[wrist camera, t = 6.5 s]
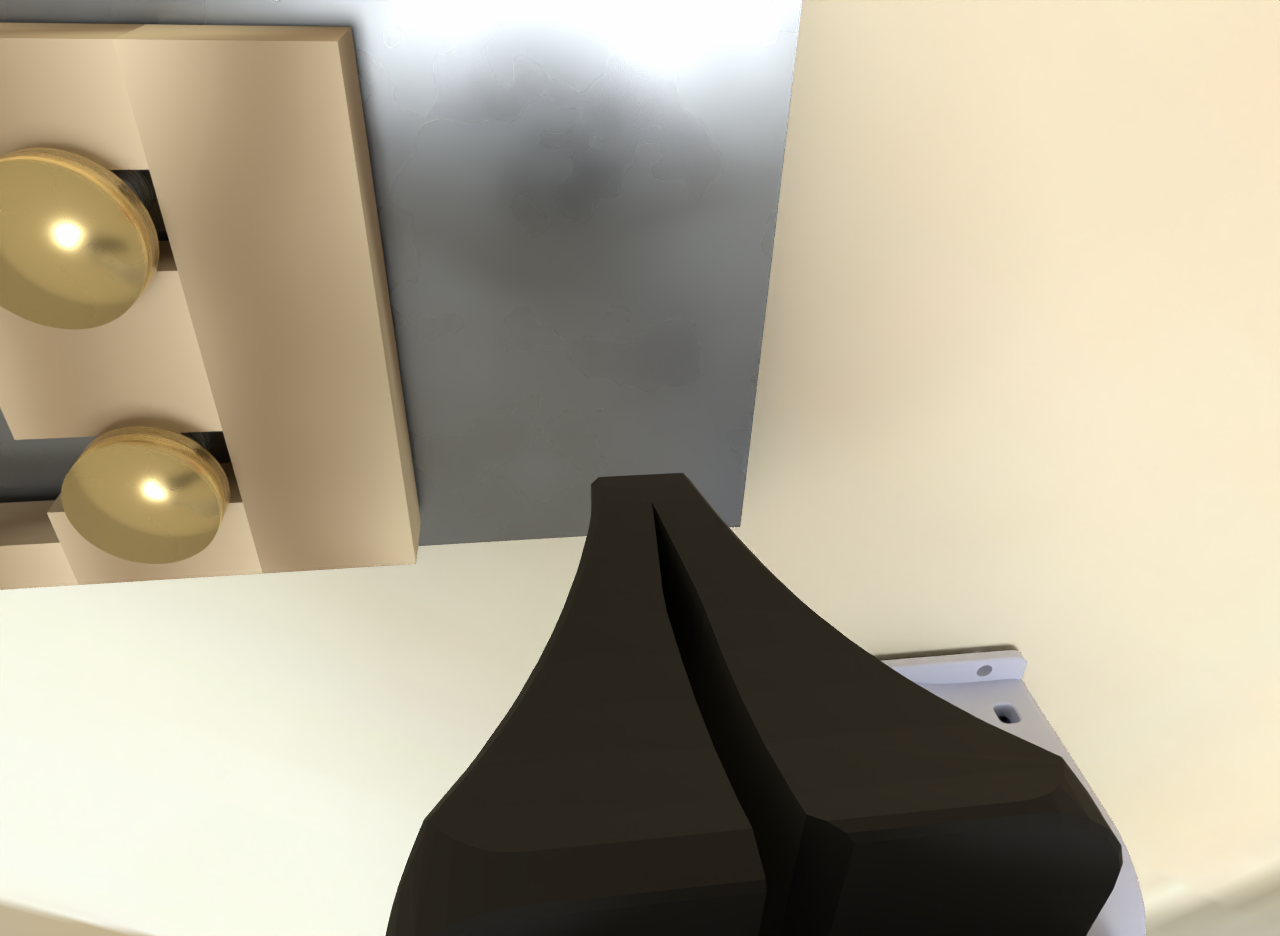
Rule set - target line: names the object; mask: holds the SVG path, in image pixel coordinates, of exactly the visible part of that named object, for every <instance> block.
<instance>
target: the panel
mask: <svg viewBox="0 0 1280 936" xmlns="http://www.w3.org/2000/svg"><path fill="white" fill-rule="evenodd" d="M32 147H46V148H55V149H61V150H66V151H69V152H72V153H76V154H79V155H81V156H84V157H86V158H88V159H91V160H92V161H94V162H96V163H98V164H100V165H102V166H103V167H105V168H106V169H108V170H149V171H150V174H151V178H152V181H153V185H154V189H155V192H156V196H157V199H158V203H159V206H160V210H161V213H162V217H163V221H164V224H165V228H166V231H167V235H168V238H169V241H159V262H158V266H157V270H156V273H155V275H154V277H153V280H152V281H151V283H150V284H149V286H148V287H147V288H146V289H145V291H144V292H143V293H142V294H141V295H140V297H139V298H138V299H137V300H136V301H135V303H134V304H133V305H132V306H131V307H130V308H129V309H128V310H127V311H126V312H125V313H124V314H123V315H121V316H120V317H119V318H117V319H115V320H113V321H112V322H110V323H107V324H104V325H102V326H99V327H94V328H89V329H78V330H73V329H59V328H52V327H48V326H44V325H40V324H37V323H34V322H31V321H28V320H26V319H24V318H22V317H19V316H17V315H15V314H13V313H12V312H10V311H8V310H6V309H5V308H3V307H2V306H0V408H1V410H2V412H3V415H4V417H5V419H6V421H7V424H8V426H9V428H10V430H11V433H12V435H13V437H14V440H23V439H46V438H70V437H93V436H99V435H101V434H103V433H105V432H108V431H110V430H113V429H116V428H121V427H127V426H151V427H158V428H163V429H167V430H170V431H173V432H176V433H186V432H210V431H223V434H224V438H225V441H226V445H227V448H228V452H229V455H230V459H231V462H229V463H219V464H220V465H221V467H222V469H223V470H224V472H225V474H226V477H227V479H228V482H229V487H230V499H229V504H228V507H227V510H226V512H225V515H224V517H223V519H222V522H221V524H220V526H219V529H218V531H217V533H216V535H215V537H214V539H213V540H212V542H211V543H210V544H209V545H208V546H207V547H206V548H205V549H204V550H202V551H201V552H199V553H198V554H196V555H194V556H192V557H190V558H188V559H185V560H182V561H178V562H173V563H166V564H146V563H138V562H132V561H129V560H125V559H121V558H119V557H116V556H113V555H111V554H109V553H106V552H104V551H102V550H101V549H99V548H97V547H95V546H94V545H93V544H91V543H90V542H88V541H87V540H86V539H85V538H84V537H82V536H81V535H80V534H79V533H78V532H77V530H76V529H75V528H74V527H73V526H72V524H71V523H70V521H69V520H68V518H67V516H66V514H65V512H64V509H63V506H62V500H61V493H60V495H59V496H58V498H57V499H56V500H50V501H30V502H11V503H0V590H4V589H20V588H36V587H52V586H68V585H84V584H100V583H116V582H132V581H148V580H164V579H180V578H196V577H212V576H228V575H244V574H260V573H276V572H292V571H308V570H324V569H340V568H356V567H372V566H388V565H404V564H416V559H417V550H418V542H419V534H420V525H421V518H420V511H419V504H418V497H417V490H416V483H415V476H414V469H413V462H412V455H411V448H410V440H409V433H408V426H407V419H406V412H405V405H404V398H403V391H402V384H401V377H400V369H399V362H398V355H397V348H396V341H395V334H394V327H393V320H392V313H391V306H390V299H389V291H388V284H387V277H386V270H385V263H384V256H383V249H382V242H381V235H380V228H379V221H378V213H377V206H376V199H375V192H374V185H373V178H372V171H371V164H370V157H369V150H368V142H367V135H366V128H365V121H364V114H363V107H362V100H361V93H360V86H359V79H358V72H357V64H356V57H355V50H354V43H353V36H352V29H351V27H325V26H244V25H163V24H82V23H1V22H0V157H1V156H2V155H4V154H6V153H9V152H12V151H14V150H19V149H24V148H32Z"/></svg>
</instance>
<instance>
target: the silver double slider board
mask: <svg viewBox="0 0 1280 936" xmlns="http://www.w3.org/2000/svg"><path fill="white" fill-rule="evenodd" d="M801 7H802V0H0V22H1V23H82V24H163V25H244V26H325V27H351V29H352V36H353V43H354V50H355V57H356V64H357V72H358V79H359V86H360V93H361V100H362V107H363V114H364V121H365V128H366V135H367V142H368V150H369V157H370V164H371V171H372V178H373V185H374V192H375V199H376V206H377V213H378V221H379V228H380V235H381V242H382V249H383V256H384V263H385V270H386V277H387V284H388V291H389V299H390V306H391V313H392V320H393V327H394V334H395V341H396V348H397V355H398V362H399V369H400V377H401V384H402V391H403V398H404V405H405V412H406V419H407V426H408V433H409V440H410V448H411V455H412V462H413V469H414V476H415V483H416V490H417V497H418V504H419V511H420V518H421V525H420V534H419V542H418V546H425V545H442V544H458V543H475V542H492V541H508V540H525V539H542V538H558V537H575V536H587V534H588V529H589V524H590V518H591V483H593V482H594V481H595V480H596V479H597V478H598V477H608V476H628V475H648V474H667V473H684V474H685V475H686V476H687V477H688V478H689V479H690V480H691V482H692V483H693V484H694V485H695V487H696V488H697V489H698V491H699V492H700V493H701V494H702V496H703V497H704V498H705V499H706V501H707V502H708V503H709V504H710V505H711V507H712V508H713V509H714V510H715V512H716V513H717V514H718V515H719V516H720V517H721V519H722V520H723V521H724V522H725V523H726V524H727V526H728V527H740V523H741V515H742V506H743V498H744V489H745V481H746V472H747V464H748V456H749V447H750V439H751V430H752V422H753V413H754V405H755V396H756V388H757V379H758V371H759V362H760V354H761V346H762V337H763V329H764V320H765V312H766V303H767V295H768V286H769V278H770V269H771V261H772V252H773V244H774V236H775V227H776V219H777V210H778V202H779V193H780V185H781V176H782V168H783V159H784V151H785V142H786V134H787V125H788V117H789V109H790V100H791V92H792V83H793V75H794V66H795V58H796V49H797V41H798V32H799V24H800V15H801ZM159 241H169V238H168V235H167V231H166V228H165V224H164V221H163V217H162V213H161V210H160V206H159V203H158V199H157V196H156V192H155V189H154V185H153V181H152V178H151V174H150V171H149V170H108V169H106V168H105V167H103V166H102V165H100V164H98V163H96V162H94V161H92V160H91V159H88V158H86V157H84V156H81V155H79V154H76V153H72V152H69V151H66V150H61V149H55V148H46V147H32V148H24V149H19V150H14V151H12V152H9V153H6V154H4V155H2V156H1V157H0V306H2V307H3V308H5V309H6V310H8V311H10V312H12V313H13V314H15V315H17V316H19V317H22V318H24V319H26V320H28V321H31V322H34V323H37V324H40V325H44V326H48V327H52V328H59V329H73V330H78V329H89V328H94V327H99V326H102V325H104V324H107V323H110V322H112V321H113V320H115V319H117V318H119V317H120V316H121V315H123V314H124V313H125V312H126V311H127V310H128V309H129V308H130V307H131V306H132V305H133V304H134V303H135V301H136V300H137V299H138V298H139V297H140V295H141V294H142V293H143V292H144V291H145V289H146V288H147V287H148V286H149V284H150V283H151V281H152V280H153V277H154V275H155V273H156V270H157V266H158V262H159ZM229 462H231V459H230V455H229V452H228V448H227V445H226V441H225V438H224V434H223V431H210V432H186V433H176V432H173V431H170V430H167V429H163V428H158V427H151V426H127V427H121V428H116V429H113V430H110V431H108V432H105V433H103V434H101V435H99V436H93V437H70V438H46V439H23V440H14V437H13V435H12V433H11V430H10V428H9V426H8V424H7V421H6V419H5V417H4V415H3V412H2V410H1V408H0V503H11V502H30V501H50V500H56V499H57V498H58V496H59V495H60V493H61V500H62V506H63V509H64V512H65V514H66V516H67V518H68V520H69V521H70V523H71V524H72V526H73V527H74V528H75V529H76V530H77V532H78V533H79V534H80V535H81V536H82V537H84V538H85V539H86V540H87V541H88V542H90V543H91V544H93V545H94V546H95V547H97V548H99V549H101V550H102V551H104V552H106V553H109V554H111V555H113V556H116V557H119V558H121V559H125V560H129V561H132V562H138V563H146V564H166V563H173V562H178V561H182V560H185V559H188V558H190V557H192V556H194V555H196V554H198V553H199V552H201V551H202V550H204V549H205V548H206V547H207V546H208V545H209V544H210V543H211V542H212V540H213V539H214V537H215V535H216V533H217V531H218V529H219V526H220V524H221V522H222V519H223V517H224V515H225V512H226V510H227V507H228V504H229V499H230V487H229V482H228V479H227V477H226V474H225V472H224V470H223V469H222V467H221V465H220V464H219V463H229Z"/></svg>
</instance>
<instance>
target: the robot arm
mask: <svg viewBox="0 0 1280 936" xmlns="http://www.w3.org/2000/svg"><path fill="white" fill-rule="evenodd" d="M1026 666H1027V661H1026V660H1025V658H1024V656H1023V655H1022V653H1021V652H1019V651H1017V650H1005V651H992V652H980V653H968V654H955V655H943V656H931V657H918V658H906V659H894V660H882V661H880V660H878V659H877V658H875V657H874V656H872V655H871V654H869V653H868V652H866V651H865V650H864V649H862V648H861V647H859V646H858V645H857V644H855V643H854V642H852V641H851V640H850V639H848V638H847V637H845V636H844V635H843V634H842V633H840V632H839V631H838V630H837V629H835V628H834V627H833V626H831V625H830V624H829V623H828V622H826V621H825V620H824V619H822V618H821V617H820V616H819V615H817V614H816V613H815V612H814V611H812V610H811V609H810V608H809V607H808V606H807V605H806V604H804V603H803V602H802V601H801V600H800V599H799V598H798V597H797V596H796V595H794V594H793V593H792V592H791V591H790V590H789V589H788V588H787V587H786V586H785V585H784V584H783V583H782V582H781V581H780V580H778V579H777V578H776V577H775V576H774V575H773V574H772V573H771V572H770V571H769V570H768V569H767V568H766V567H765V566H764V565H763V564H762V563H761V562H760V560H759V559H758V558H757V557H756V556H755V555H754V554H753V553H752V552H751V551H750V550H749V549H748V548H747V547H746V546H745V544H744V543H743V542H742V541H741V540H740V539H739V538H738V537H737V536H736V535H735V534H734V532H733V531H732V530H731V529H730V528H729V527H728V526H727V524H726V523H725V522H724V521H723V520H722V519H721V517H720V516H719V515H718V514H717V513H716V512H715V510H714V509H713V508H712V507H711V505H710V504H709V503H708V502H707V501H706V499H705V498H704V497H703V496H702V494H701V493H700V492H699V491H698V489H697V488H696V487H695V485H694V484H693V483H692V482H691V480H690V479H689V478H688V477H687V476H686V475H685V474H684V473H667V474H648V475H628V476H608V477H598V478H597V479H596V480H595V481H594V482H593V483H591V518H590V524H589V529H588V534H587V538H586V542H585V545H584V549H583V553H582V556H581V560H580V564H579V567H578V570H577V573H576V576H575V579H574V581H573V584H572V587H571V589H570V592H569V595H568V597H567V600H566V603H565V605H564V608H563V610H562V613H561V615H560V617H559V620H558V622H557V624H556V626H555V629H554V631H553V633H552V635H551V637H550V639H549V641H548V643H547V645H546V647H545V649H544V651H543V653H542V655H541V657H540V659H539V661H538V663H537V664H536V666H535V668H534V670H533V671H532V673H531V675H530V677H529V678H528V680H527V682H526V684H525V685H524V687H523V689H522V691H521V692H520V694H519V696H518V697H517V699H516V700H515V702H514V704H513V705H512V707H511V708H510V710H509V711H508V713H507V714H506V716H505V717H504V719H503V720H502V721H501V723H500V724H499V726H498V727H497V729H496V730H495V731H494V733H493V734H492V736H491V737H490V738H489V740H488V741H487V743H486V744H485V745H484V747H483V748H482V750H481V751H480V753H479V754H478V755H477V757H476V758H475V759H474V761H473V762H472V763H471V764H470V766H469V767H468V768H467V770H466V771H465V772H464V773H463V774H462V776H461V777H460V778H459V779H458V780H457V781H456V783H455V784H454V785H453V786H452V787H451V788H450V790H449V791H448V792H447V793H446V794H445V796H444V797H443V798H442V799H441V800H440V801H439V803H438V804H437V805H436V806H435V807H434V809H433V810H432V811H431V812H430V813H429V814H428V816H427V817H426V818H425V819H424V821H423V823H422V826H421V828H420V831H419V833H418V835H417V838H416V840H415V843H414V845H413V848H412V850H411V853H410V855H409V858H408V861H407V863H406V866H405V869H404V872H403V874H402V877H401V880H400V883H399V886H398V889H397V892H396V896H395V899H394V902H393V906H392V910H391V914H390V918H389V922H388V927H387V932H386V936H1146V917H1145V908H1144V902H1143V898H1142V893H1141V889H1140V886H1139V882H1138V878H1137V875H1136V872H1135V869H1134V866H1133V863H1132V861H1131V858H1130V855H1129V853H1128V850H1127V848H1126V846H1125V844H1124V842H1123V840H1122V837H1121V835H1120V833H1119V831H1118V830H1117V828H1116V826H1115V825H1114V823H1113V821H1112V819H1111V818H1110V816H1109V815H1108V813H1107V812H1106V810H1105V808H1104V807H1103V805H1102V804H1101V802H1100V801H1099V799H1098V798H1097V796H1096V794H1095V793H1094V791H1093V790H1092V788H1091V787H1090V785H1089V784H1088V782H1087V780H1086V779H1085V777H1084V776H1083V774H1082V773H1081V771H1080V770H1079V768H1078V766H1077V765H1076V763H1075V762H1074V760H1073V759H1072V757H1071V756H1070V754H1069V752H1068V751H1067V749H1066V748H1065V746H1064V745H1063V743H1062V742H1061V740H1060V738H1059V737H1058V735H1057V734H1056V732H1055V731H1054V729H1053V728H1052V726H1051V724H1050V723H1049V721H1048V720H1047V718H1046V717H1045V715H1044V714H1043V712H1042V711H1041V709H1040V707H1039V706H1038V704H1037V703H1036V701H1035V700H1034V698H1033V697H1032V695H1031V693H1030V692H1029V690H1028V689H1027V687H1026V686H1025V684H1024V683H1023V681H1022V680H1021V679H1022V676H1023V674H1024V671H1025V669H1026Z"/></svg>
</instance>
